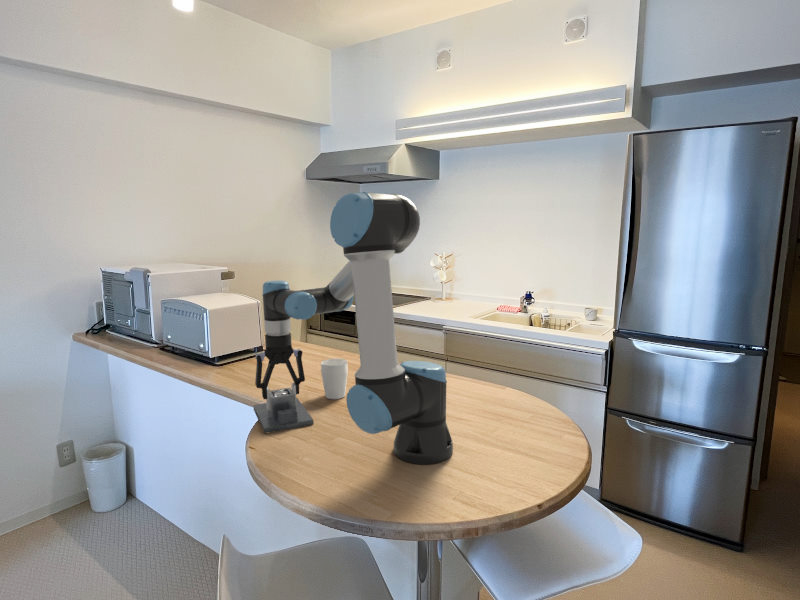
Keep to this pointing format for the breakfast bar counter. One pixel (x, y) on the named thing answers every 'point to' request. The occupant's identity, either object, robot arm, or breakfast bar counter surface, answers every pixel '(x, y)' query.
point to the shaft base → (282, 416)
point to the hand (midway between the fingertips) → (281, 406)
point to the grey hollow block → (281, 401)
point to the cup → (334, 377)
